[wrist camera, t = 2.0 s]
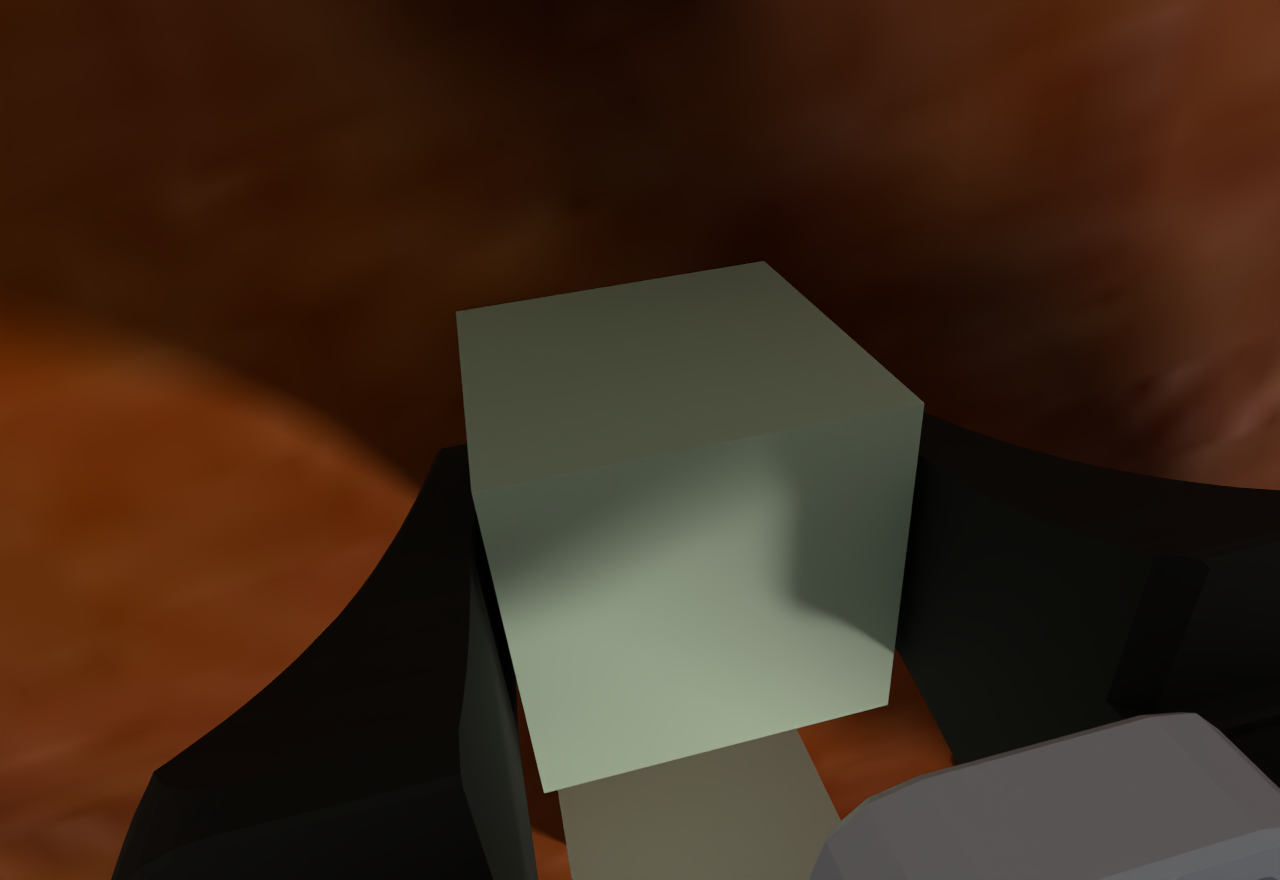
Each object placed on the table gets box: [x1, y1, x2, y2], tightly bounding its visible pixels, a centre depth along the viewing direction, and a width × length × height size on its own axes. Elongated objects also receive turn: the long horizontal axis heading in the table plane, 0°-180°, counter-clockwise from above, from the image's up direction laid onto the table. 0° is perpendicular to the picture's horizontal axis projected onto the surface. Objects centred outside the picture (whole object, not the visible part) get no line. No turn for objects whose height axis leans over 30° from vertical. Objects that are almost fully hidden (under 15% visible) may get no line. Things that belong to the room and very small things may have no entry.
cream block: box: [558, 729, 841, 880], centre depth 17 cm, size 5×5×5 cm
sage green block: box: [456, 261, 924, 793], centre depth 12 cm, size 5×5×5 cm
